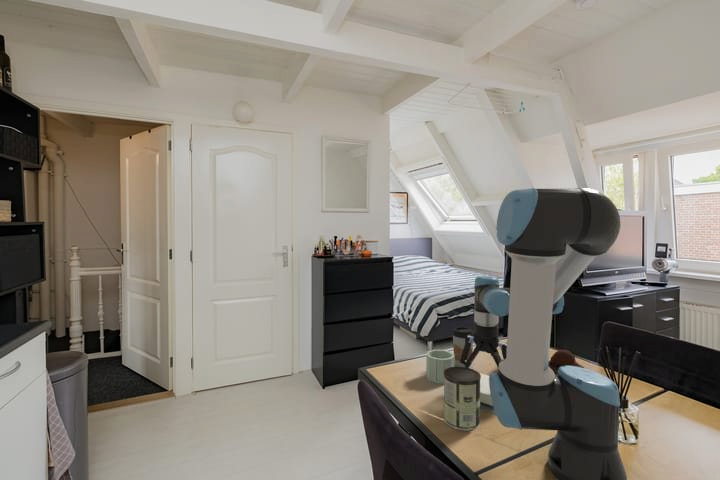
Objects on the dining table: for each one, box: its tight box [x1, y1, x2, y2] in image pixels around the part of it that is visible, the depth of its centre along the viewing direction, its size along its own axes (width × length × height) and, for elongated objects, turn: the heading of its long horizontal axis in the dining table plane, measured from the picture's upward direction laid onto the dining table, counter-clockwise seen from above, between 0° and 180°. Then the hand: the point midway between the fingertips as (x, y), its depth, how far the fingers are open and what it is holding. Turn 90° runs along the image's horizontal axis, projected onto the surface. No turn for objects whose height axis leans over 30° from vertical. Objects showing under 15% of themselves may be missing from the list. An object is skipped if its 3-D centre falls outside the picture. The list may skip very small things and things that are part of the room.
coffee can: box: [443, 366, 481, 432], centre depth 102 cm, size 10×10×14 cm
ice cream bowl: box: [548, 349, 585, 375], centre depth 119 cm, size 11×11×15 cm
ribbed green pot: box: [425, 349, 455, 385], centre depth 131 cm, size 10×10×9 cm
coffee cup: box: [452, 326, 475, 367], centre depth 141 cm, size 8×8×15 cm
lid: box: [479, 372, 493, 406], centre depth 117 cm, size 14×10×3 cm
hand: (485, 390), depth 117 cm, fingers closed on lid, 10 cm apart
